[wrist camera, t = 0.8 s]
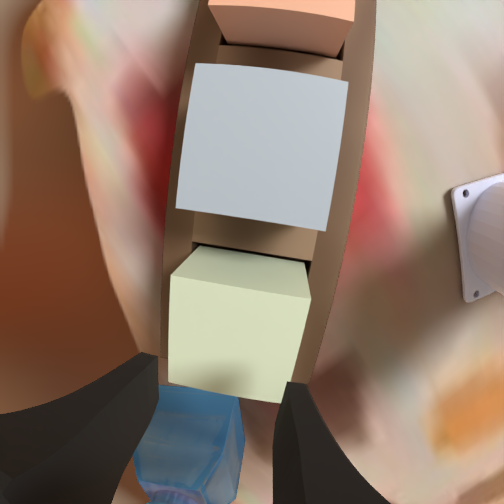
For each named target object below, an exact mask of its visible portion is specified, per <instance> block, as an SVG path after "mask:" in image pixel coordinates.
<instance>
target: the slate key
mask: <svg viewBox="0 0 504 504" xmlns="http://www.w3.org/2000/svg"><path fill="white" fill-rule="evenodd" d="M347 91H348V82H346V81H341V80H337V79H332V78H327V77H322V76H316V75H311V74H305V73H298V72H292V71H285V70H278V69H270V68H261V67H251V66H240V65H225V64H205V63H196V64H195V69H194V75H193V81H192V86H191V92H190V98H189V105H188V111H187V118H186V124H185V131H184V139H183V146H182V154H181V162H180V171H179V179H178V189H177V198H176V208H179V209H186V210H193V211H200V212H207V213H214V214H221V215H227V216H234V217H241V218H247V219H254V220H260V221H266V222H272V223H279V224H285V225H291V226H297V227H303V228H309V229H314V230H320V231H326V227H327V221H328V216H329V211H330V205H331V199H332V194H333V188H334V182H335V176H336V170H337V164H338V157H339V151H340V144H341V137H342V130H343V123H344V115H345V107H346V99H347Z"/></svg>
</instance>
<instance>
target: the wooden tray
mask: <svg viewBox="0 0 504 504" xmlns="http://www.w3.org/2000/svg"><path fill="white" fill-rule="evenodd" d="M208 2H209V0H200V3H199V7H198V11H197V15H196V19H195V24H194V28H193V33H192V37H191V42H190V47H189V52H188V57H187V62H186V67H185V73H184V78H183V84H182V90H181V96H180V102H179V108H178V115H177V121H176V128H175V135H174V143H173V151H172V159H171V167H170V176H169V186H168V196H167V207H166V219H165V232H164V247H163V265H162V289H161V357H162V358H167V359H168V337H169V301H170V279H171V274H172V273H173V272H174V271H175V270H176V269H177V268H178V267H179V266H180V265H181V264H182V263H183V262H184V261H185V260H186V259H187V258H188V257H189V256H190V255H191V254H192V253H193V252H194V251H195V250H196V249H197V248H198V247H199V246H206V247H212V248H218V249H224V250H230V251H236V252H242V253H249V254H255V255H261V256H267V257H273V258H279V259H285V260H291V261H298V262H304V264H305V269H306V274H307V279H308V284H309V290H310V295H311V302H310V307H309V311H308V315H307V319H306V323H305V327H304V331H303V335H302V339H301V343H300V347H299V351H298V355H297V359H296V363H295V366H294V370H293V374H292V377H291V381H290V382H297V383H305V384H309V382H310V379H311V375H312V372H313V369H314V366H315V362H316V359H317V356H318V352H319V349H320V345H321V342H322V338H323V335H324V331H325V328H326V324H327V320H328V317H329V313H330V309H331V305H332V301H333V297H334V293H335V289H336V285H337V281H338V277H339V273H340V269H341V264H342V260H343V256H344V251H345V246H346V242H347V237H348V232H349V227H350V223H351V217H352V212H353V207H354V202H355V196H356V191H357V185H358V179H359V173H360V167H361V161H362V154H363V148H364V141H365V134H366V126H367V118H368V110H369V101H370V92H371V82H372V71H373V59H374V44H375V26H376V0H355V13H354V23H353V25H352V27H351V28H350V30H349V32H348V34H347V36H346V38H345V40H344V42H343V44H342V46H341V48H340V50H339V52H338V54H337V56H336V58H335V57H330V56H325V55H319V54H314V53H308V52H302V51H295V50H288V49H281V48H272V47H263V46H252V45H239V44H228V43H227V41H226V39H225V37H224V35H223V33H222V31H221V29H220V27H219V26H218V24H217V22H216V20H215V18H214V16H213V14H212V12H211V10H210V8H209V6H208ZM196 63H205V64H225V65H240V66H251V67H261V68H270V69H278V70H285V71H292V72H298V73H305V74H311V75H316V76H322V77H327V78H332V79H337V80H341V81H346V82H348V91H347V99H346V107H345V115H344V123H343V130H342V137H341V144H340V151H339V157H338V164H337V170H336V176H335V182H334V188H333V194H332V199H331V205H330V211H329V216H328V221H327V227H326V231H320V230H314V229H309V228H303V227H297V226H291V225H285V224H279V223H272V222H266V221H260V220H254V219H247V218H241V217H234V216H227V215H221V214H214V213H207V212H200V211H193V210H186V209H179V208H176V198H177V189H178V179H179V171H180V162H181V154H182V146H183V139H184V131H185V124H186V118H187V111H188V105H189V98H190V92H191V86H192V81H193V75H194V69H195V64H196Z"/></svg>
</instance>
